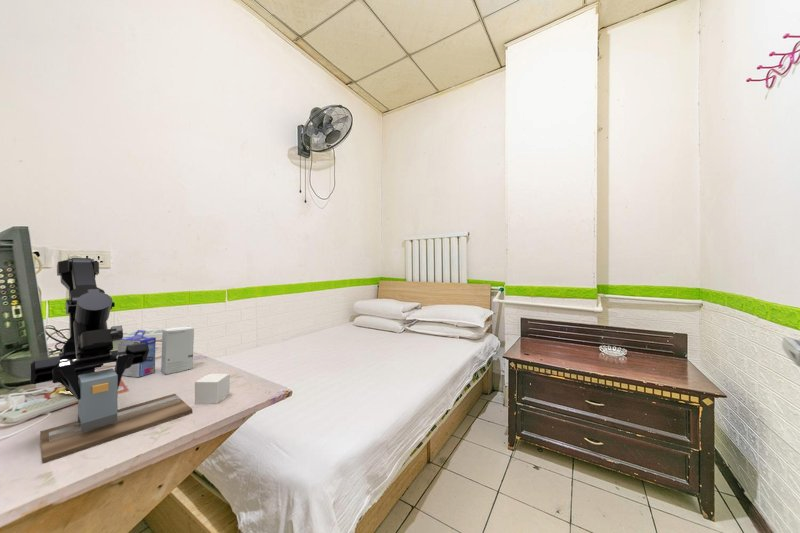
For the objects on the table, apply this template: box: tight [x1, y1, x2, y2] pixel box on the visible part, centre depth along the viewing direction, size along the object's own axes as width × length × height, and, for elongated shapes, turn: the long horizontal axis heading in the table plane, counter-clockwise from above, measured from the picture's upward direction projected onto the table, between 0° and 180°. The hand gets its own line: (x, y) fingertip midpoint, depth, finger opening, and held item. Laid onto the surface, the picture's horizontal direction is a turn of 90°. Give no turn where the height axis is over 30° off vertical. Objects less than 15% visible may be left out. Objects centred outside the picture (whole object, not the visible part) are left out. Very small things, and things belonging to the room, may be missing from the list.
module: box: [77, 368, 119, 432], centre depth 65 cm, size 7×6×10 cm
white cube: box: [194, 373, 231, 405], centre depth 82 cm, size 6×6×6 cm
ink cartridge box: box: [117, 329, 157, 378], centre depth 99 cm, size 10×6×14 cm, turn 78°
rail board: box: [39, 393, 193, 464], centre depth 69 cm, size 14×24×2 cm, turn 142°
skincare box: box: [160, 325, 195, 376], centre depth 103 cm, size 8×6×15 cm
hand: (98, 393), depth 65 cm, fingers closed on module, 5 cm apart
